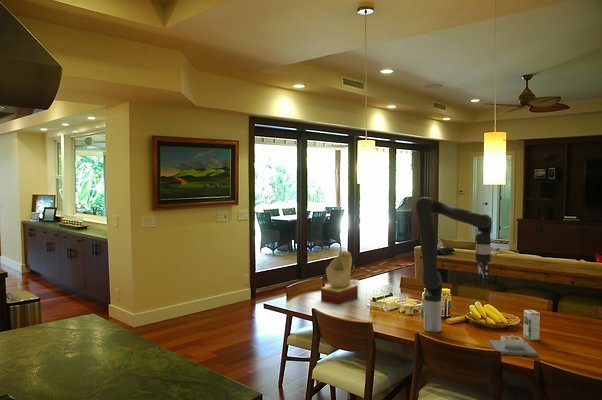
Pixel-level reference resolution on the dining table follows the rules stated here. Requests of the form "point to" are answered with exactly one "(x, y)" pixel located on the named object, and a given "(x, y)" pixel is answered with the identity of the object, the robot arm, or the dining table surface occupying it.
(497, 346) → the board
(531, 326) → the syrup box
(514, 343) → the steel link
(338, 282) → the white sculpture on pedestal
